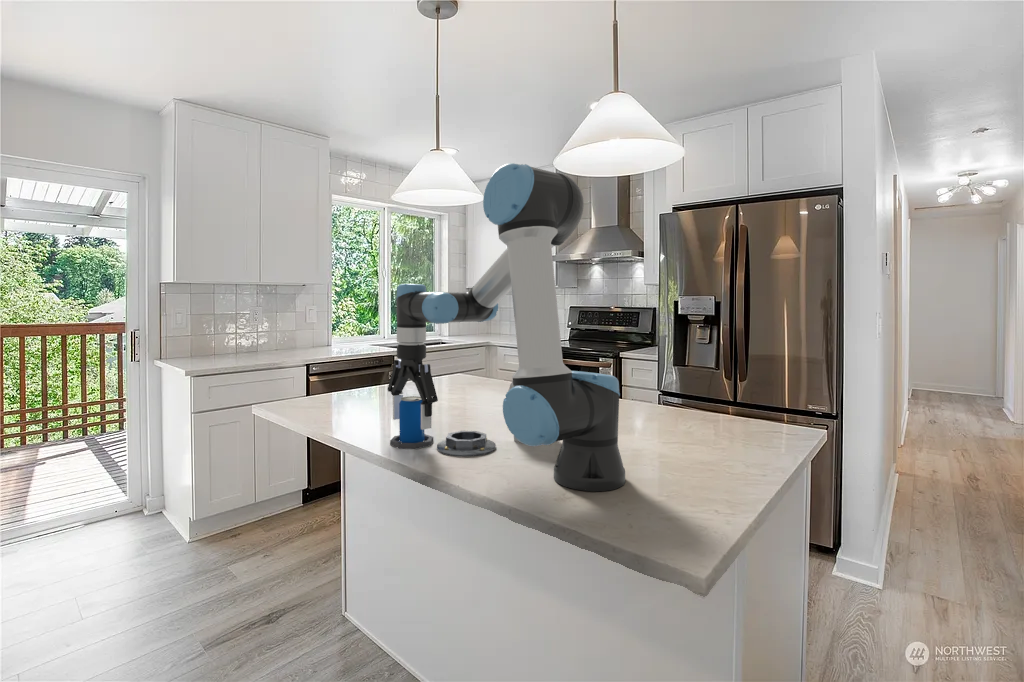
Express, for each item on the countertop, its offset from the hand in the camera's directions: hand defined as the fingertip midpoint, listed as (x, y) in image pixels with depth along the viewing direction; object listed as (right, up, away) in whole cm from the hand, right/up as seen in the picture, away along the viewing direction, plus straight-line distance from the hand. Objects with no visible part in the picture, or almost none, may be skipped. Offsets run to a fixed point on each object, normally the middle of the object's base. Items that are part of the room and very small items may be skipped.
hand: (411, 423), depth 141 cm
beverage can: (0, -5, 0) cm, 5 cm away
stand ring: (0, -5, 0) cm, 5 cm away
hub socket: (+15, -6, -4) cm, 16 cm away
